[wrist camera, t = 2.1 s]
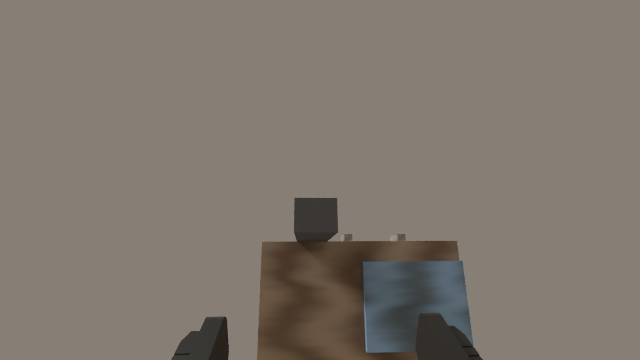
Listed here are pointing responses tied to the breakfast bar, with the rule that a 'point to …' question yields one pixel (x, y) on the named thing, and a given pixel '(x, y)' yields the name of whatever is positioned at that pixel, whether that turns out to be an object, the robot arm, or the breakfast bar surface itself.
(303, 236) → the dark gray rectangular panel
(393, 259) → the cabinet
